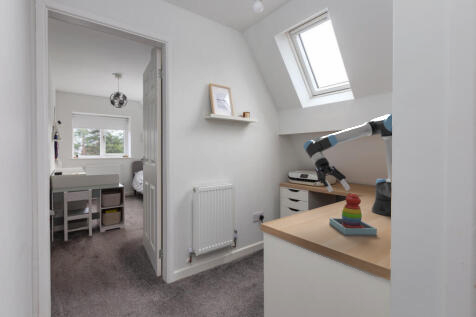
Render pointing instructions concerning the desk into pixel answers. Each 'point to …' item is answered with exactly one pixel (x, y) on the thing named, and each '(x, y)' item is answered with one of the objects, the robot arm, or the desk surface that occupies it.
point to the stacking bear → (352, 212)
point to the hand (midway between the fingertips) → (340, 190)
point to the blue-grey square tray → (365, 231)
